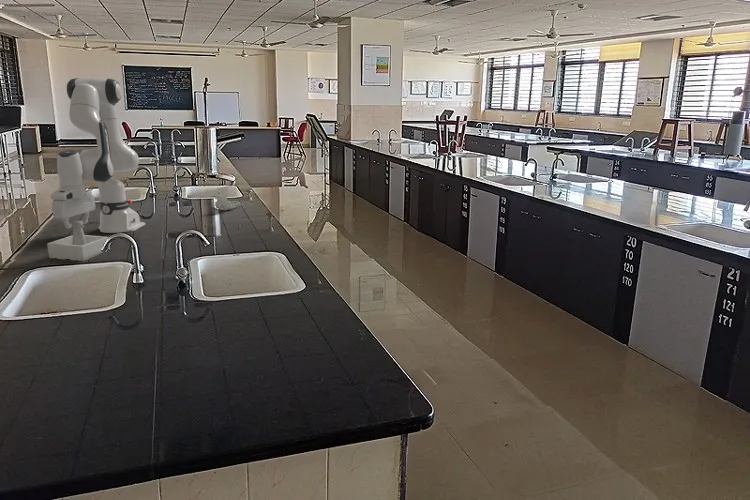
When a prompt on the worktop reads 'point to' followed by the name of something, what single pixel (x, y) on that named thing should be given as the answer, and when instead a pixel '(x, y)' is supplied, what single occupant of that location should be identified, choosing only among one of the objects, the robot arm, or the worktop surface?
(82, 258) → the box
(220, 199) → the skeletal model
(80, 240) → the salt shaker
